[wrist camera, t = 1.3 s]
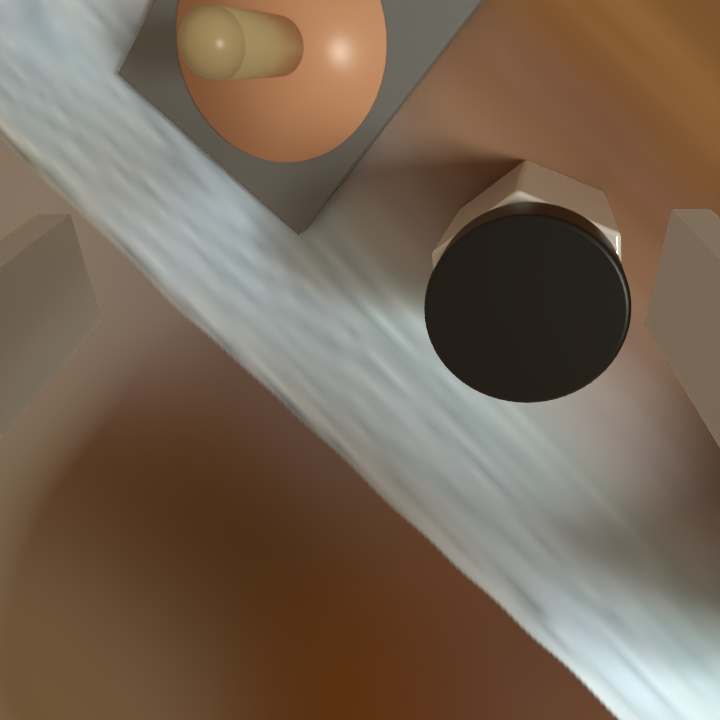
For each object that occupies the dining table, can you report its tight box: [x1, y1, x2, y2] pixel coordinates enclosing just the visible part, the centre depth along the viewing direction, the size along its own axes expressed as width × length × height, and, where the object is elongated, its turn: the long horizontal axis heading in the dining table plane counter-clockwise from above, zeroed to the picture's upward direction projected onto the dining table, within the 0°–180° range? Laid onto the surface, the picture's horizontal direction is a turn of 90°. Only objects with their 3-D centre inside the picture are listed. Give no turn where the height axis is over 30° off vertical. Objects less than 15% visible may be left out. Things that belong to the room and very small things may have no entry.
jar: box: [424, 160, 631, 403], centre depth 31 cm, size 9×8×12 cm
